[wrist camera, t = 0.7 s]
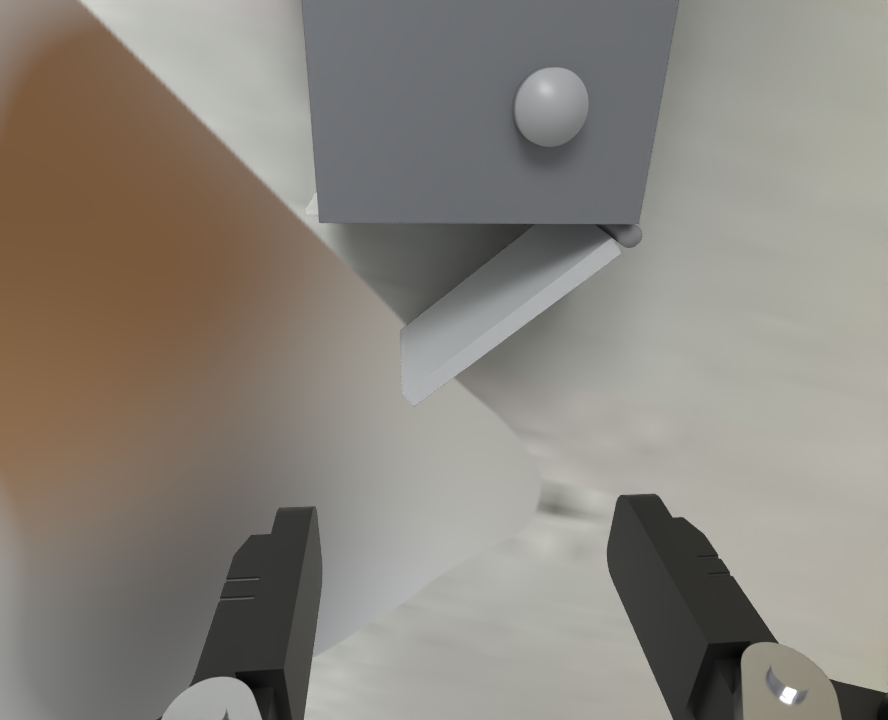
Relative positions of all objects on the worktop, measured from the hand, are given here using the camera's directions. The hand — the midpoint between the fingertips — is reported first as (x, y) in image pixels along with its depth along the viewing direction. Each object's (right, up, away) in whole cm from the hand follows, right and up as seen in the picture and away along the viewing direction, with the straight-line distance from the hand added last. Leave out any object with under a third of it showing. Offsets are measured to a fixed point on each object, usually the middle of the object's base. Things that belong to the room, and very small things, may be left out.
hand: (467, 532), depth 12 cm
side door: (+2, +8, +18) cm, 20 cm away
